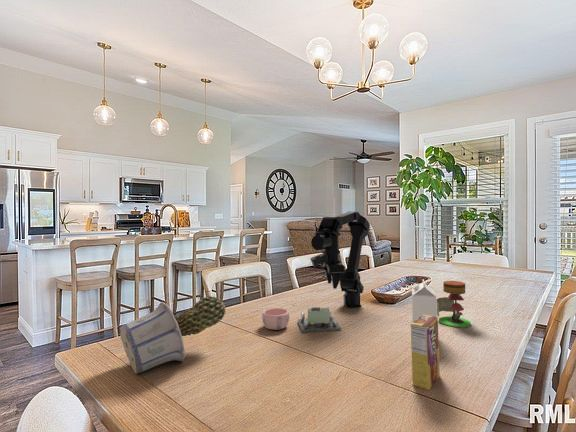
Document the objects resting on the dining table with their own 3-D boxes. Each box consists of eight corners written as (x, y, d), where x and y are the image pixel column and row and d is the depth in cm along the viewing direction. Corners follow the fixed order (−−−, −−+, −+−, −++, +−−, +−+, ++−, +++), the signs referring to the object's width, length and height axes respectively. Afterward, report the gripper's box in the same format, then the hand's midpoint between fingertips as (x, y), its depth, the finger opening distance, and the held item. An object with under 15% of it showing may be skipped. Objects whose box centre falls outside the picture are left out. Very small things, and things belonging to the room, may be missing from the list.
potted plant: (125, 331, 81) (229, 283, 100) (109, 317, 95) (203, 277, 113) (146, 395, 83) (244, 336, 102) (128, 372, 97) (217, 324, 116)
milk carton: (434, 335, 112) (434, 279, 111) (436, 344, 105) (436, 284, 105) (412, 333, 114) (411, 278, 114) (412, 341, 107) (412, 283, 107)
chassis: (333, 320, 129) (333, 309, 129) (340, 330, 118) (340, 319, 118) (297, 321, 128) (297, 311, 128) (301, 332, 117) (301, 321, 117)
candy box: (422, 370, 88) (422, 313, 88) (440, 376, 85) (439, 317, 85) (410, 384, 81) (410, 323, 81) (429, 390, 79) (428, 326, 78)
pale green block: (328, 318, 125) (328, 306, 125) (329, 322, 120) (329, 310, 120) (307, 318, 126) (307, 306, 126) (307, 322, 121) (307, 310, 121)
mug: (293, 329, 120) (293, 313, 120) (267, 334, 116) (267, 317, 116) (281, 319, 131) (281, 304, 131) (257, 323, 127) (257, 308, 127)
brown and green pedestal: (476, 321, 125) (476, 281, 125) (467, 330, 116) (466, 287, 115) (443, 314, 133) (443, 277, 133) (432, 323, 124) (431, 283, 124)
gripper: (307, 245, 143) (308, 281, 143) (316, 251, 124) (316, 292, 124) (333, 244, 144) (333, 280, 144) (345, 250, 125) (345, 291, 126)
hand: (332, 285), depth 135 cm, fingers open, 9 cm apart
